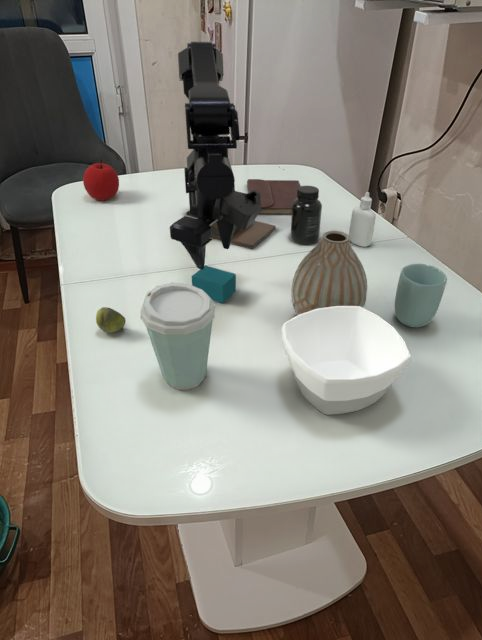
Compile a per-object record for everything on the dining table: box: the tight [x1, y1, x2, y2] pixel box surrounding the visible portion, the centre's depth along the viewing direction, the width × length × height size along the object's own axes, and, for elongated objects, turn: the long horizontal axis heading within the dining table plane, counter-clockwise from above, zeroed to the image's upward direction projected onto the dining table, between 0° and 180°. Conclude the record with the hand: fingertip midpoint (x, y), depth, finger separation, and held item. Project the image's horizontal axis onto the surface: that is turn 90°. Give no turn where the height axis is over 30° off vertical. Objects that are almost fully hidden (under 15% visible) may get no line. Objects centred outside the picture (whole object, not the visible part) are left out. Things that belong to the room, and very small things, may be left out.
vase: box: [290, 230, 368, 316], centre depth 88 cm, size 13×13×18 cm
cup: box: [393, 263, 448, 328], centre depth 92 cm, size 8×8×10 cm
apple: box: [82, 158, 120, 201], centre depth 133 cm, size 9×9×10 cm
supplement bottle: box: [289, 185, 323, 245], centre depth 117 cm, size 7×7×12 cm
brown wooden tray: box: [210, 220, 277, 250], centre depth 122 cm, size 16×12×2 cm
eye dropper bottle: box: [348, 191, 377, 248], centre depth 116 cm, size 4×6×12 cm
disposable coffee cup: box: [140, 282, 216, 391], centre depth 76 cm, size 11×11×15 cm
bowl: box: [280, 306, 412, 415], centre depth 78 cm, size 18×18×9 cm
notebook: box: [246, 178, 302, 215], centre depth 138 cm, size 15×20×2 cm
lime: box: [95, 306, 127, 333], centre depth 88 cm, size 4×5×5 cm
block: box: [191, 264, 237, 304], centre depth 100 cm, size 5×7×4 cm
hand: (214, 258), depth 96 cm, fingers open, 9 cm apart
